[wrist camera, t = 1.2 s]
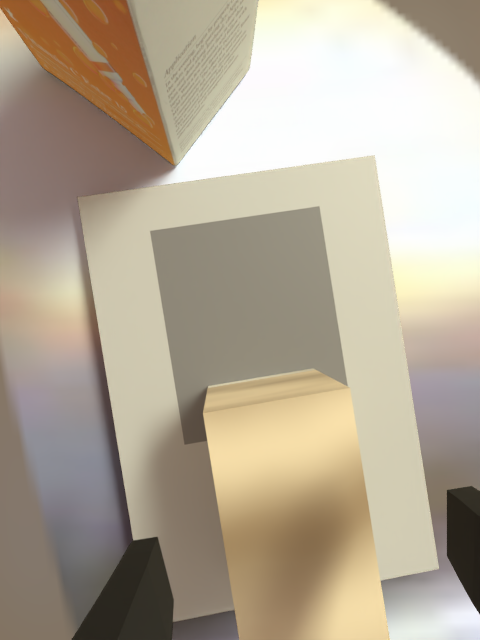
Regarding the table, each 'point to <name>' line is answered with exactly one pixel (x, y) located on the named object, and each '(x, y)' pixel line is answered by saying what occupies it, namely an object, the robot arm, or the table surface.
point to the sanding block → (294, 509)
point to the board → (250, 346)
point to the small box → (144, 59)
